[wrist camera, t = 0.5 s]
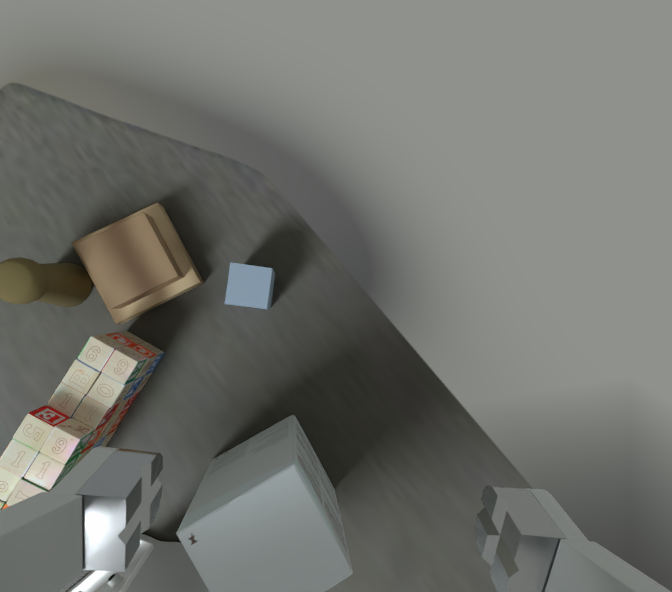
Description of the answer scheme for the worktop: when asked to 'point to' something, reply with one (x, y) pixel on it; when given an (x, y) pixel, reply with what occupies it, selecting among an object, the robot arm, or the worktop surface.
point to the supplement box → (267, 518)
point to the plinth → (178, 255)
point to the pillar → (250, 286)
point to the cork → (43, 282)
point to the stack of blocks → (76, 415)
